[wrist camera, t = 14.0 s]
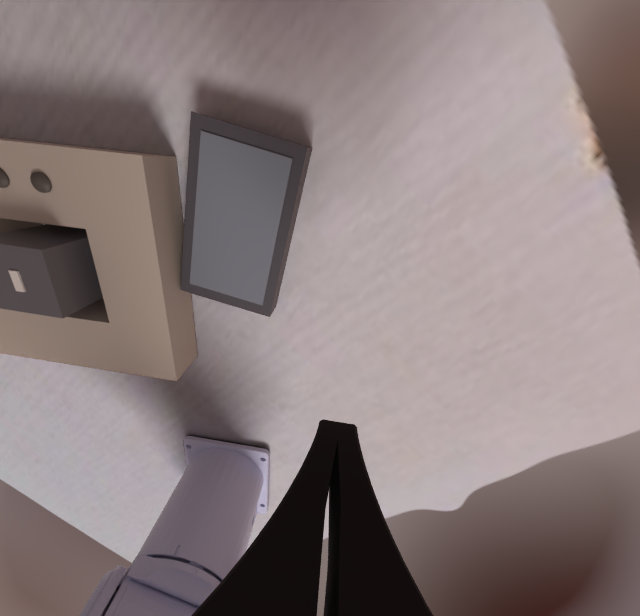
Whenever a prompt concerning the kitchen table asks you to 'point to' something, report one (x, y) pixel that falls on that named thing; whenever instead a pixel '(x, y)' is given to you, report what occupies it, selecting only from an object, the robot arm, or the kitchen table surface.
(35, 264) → the block
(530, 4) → the kitchen table surface
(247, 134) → the phone
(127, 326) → the outlet plate
